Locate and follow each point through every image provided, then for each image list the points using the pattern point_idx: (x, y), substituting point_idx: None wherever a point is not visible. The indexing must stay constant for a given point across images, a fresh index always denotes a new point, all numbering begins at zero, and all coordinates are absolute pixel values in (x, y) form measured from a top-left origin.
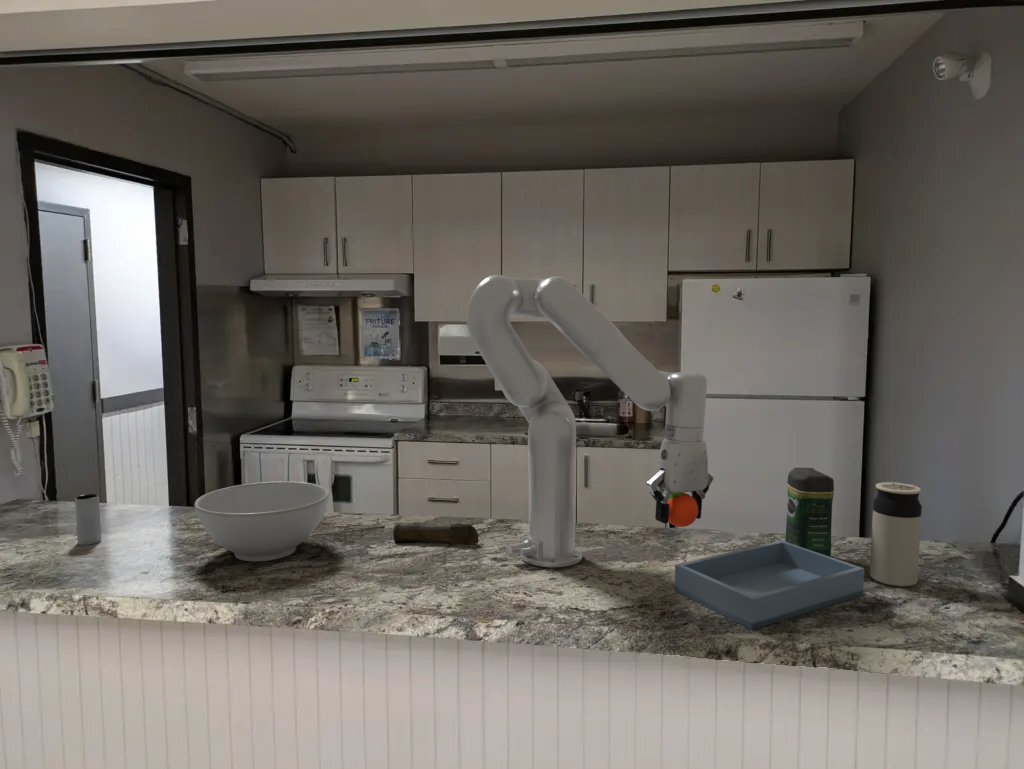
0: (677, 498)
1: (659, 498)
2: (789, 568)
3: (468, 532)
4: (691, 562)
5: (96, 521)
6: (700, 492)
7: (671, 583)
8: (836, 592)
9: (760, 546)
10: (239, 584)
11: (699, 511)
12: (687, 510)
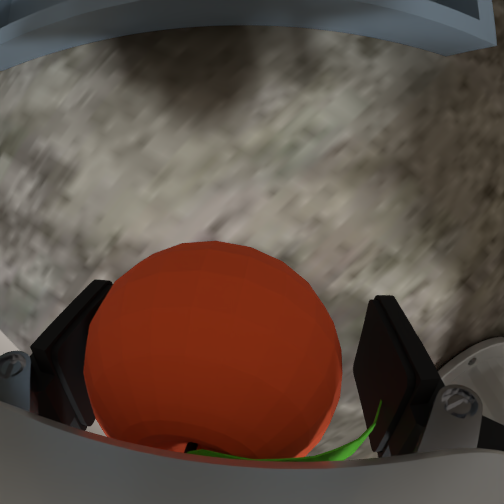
0: (285, 433)
1: (489, 426)
2: (25, 3)
3: None
4: (439, 10)
5: None
6: (11, 398)
7: (415, 99)
8: None
9: (28, 22)
10: None
11: (88, 301)
12: (256, 284)
